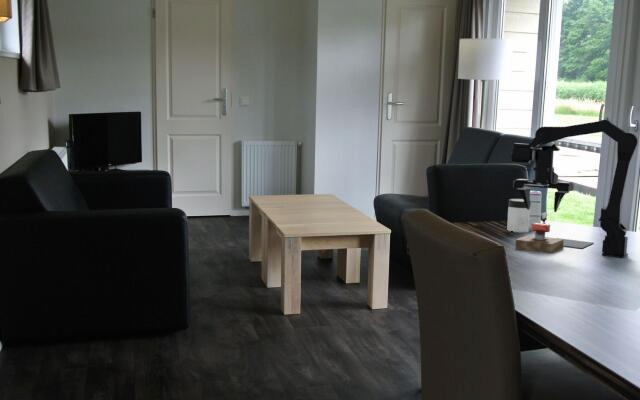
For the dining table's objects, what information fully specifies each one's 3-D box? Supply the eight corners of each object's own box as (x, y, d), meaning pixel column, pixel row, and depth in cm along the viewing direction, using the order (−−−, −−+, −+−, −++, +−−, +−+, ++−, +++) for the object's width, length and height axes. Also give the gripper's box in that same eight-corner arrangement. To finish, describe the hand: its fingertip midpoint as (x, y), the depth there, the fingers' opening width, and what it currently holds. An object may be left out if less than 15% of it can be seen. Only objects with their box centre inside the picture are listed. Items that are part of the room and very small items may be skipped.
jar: (511, 232, 263) (513, 201, 261) (502, 229, 271) (504, 198, 269) (533, 232, 264) (535, 201, 263) (524, 229, 272) (526, 198, 271)
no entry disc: (551, 248, 234) (552, 223, 233) (544, 250, 229) (546, 225, 228) (533, 245, 237) (535, 221, 236) (527, 248, 233) (528, 223, 232)
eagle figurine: (541, 218, 292) (520, 214, 292) (547, 206, 288) (526, 202, 287) (543, 230, 287) (522, 226, 286) (550, 218, 282) (529, 214, 282)
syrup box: (540, 228, 273) (542, 192, 271) (525, 228, 274) (527, 191, 272) (539, 226, 279) (541, 190, 277) (523, 225, 280) (525, 190, 278)
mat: (593, 243, 243) (593, 242, 243) (581, 249, 233) (582, 247, 233) (556, 239, 251) (556, 237, 251) (543, 244, 241) (543, 242, 241)
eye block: (563, 247, 234) (563, 239, 234) (550, 253, 225) (551, 244, 225) (528, 243, 242) (529, 234, 241) (515, 248, 232) (515, 239, 232)
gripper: (580, 164, 231) (577, 210, 233) (525, 161, 242) (523, 206, 244) (569, 166, 222) (566, 214, 224) (513, 163, 233) (511, 209, 235)
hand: (541, 210), depth 232 cm, fingers open, 9 cm apart
